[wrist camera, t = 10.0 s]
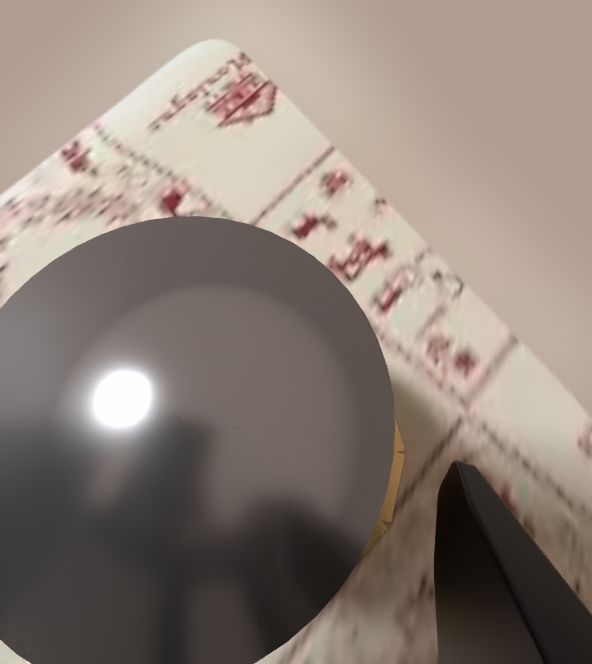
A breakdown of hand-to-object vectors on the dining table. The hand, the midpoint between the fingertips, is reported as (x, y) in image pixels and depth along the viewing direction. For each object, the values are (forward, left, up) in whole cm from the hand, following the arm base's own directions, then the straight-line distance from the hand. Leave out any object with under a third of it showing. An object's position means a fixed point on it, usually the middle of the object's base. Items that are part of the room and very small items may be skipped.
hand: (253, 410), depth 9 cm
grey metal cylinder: (0, +1, -8) cm, 8 cm away
